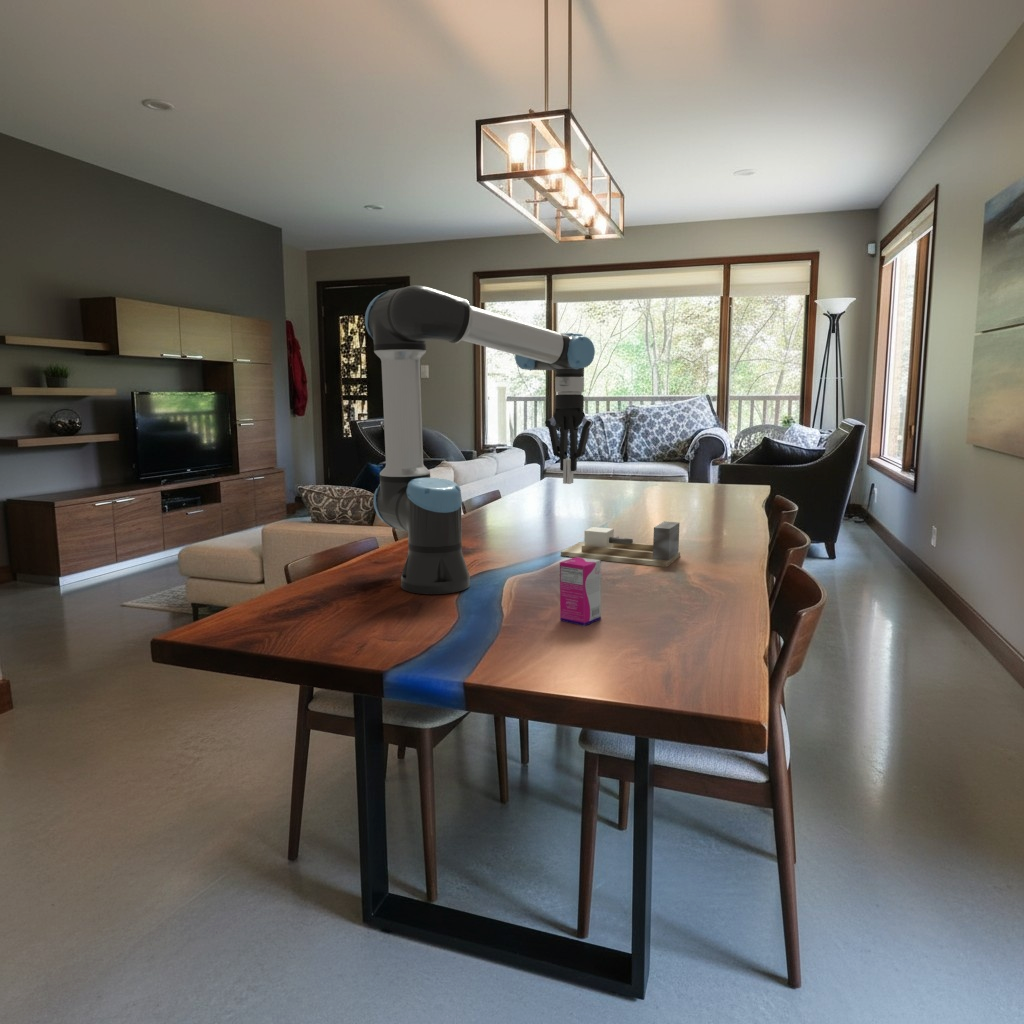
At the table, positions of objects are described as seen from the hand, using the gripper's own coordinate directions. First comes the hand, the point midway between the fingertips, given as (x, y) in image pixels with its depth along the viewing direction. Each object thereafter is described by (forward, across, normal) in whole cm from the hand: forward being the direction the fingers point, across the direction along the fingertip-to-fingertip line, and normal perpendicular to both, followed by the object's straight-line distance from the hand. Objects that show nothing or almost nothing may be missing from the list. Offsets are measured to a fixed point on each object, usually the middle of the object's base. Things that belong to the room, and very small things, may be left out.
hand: (568, 483), depth 201 cm
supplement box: (+19, +26, -57) cm, 65 cm away
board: (+18, +15, 0) cm, 24 cm away
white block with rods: (+17, +12, +2) cm, 21 cm away
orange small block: (+17, +13, +6) cm, 22 cm away
